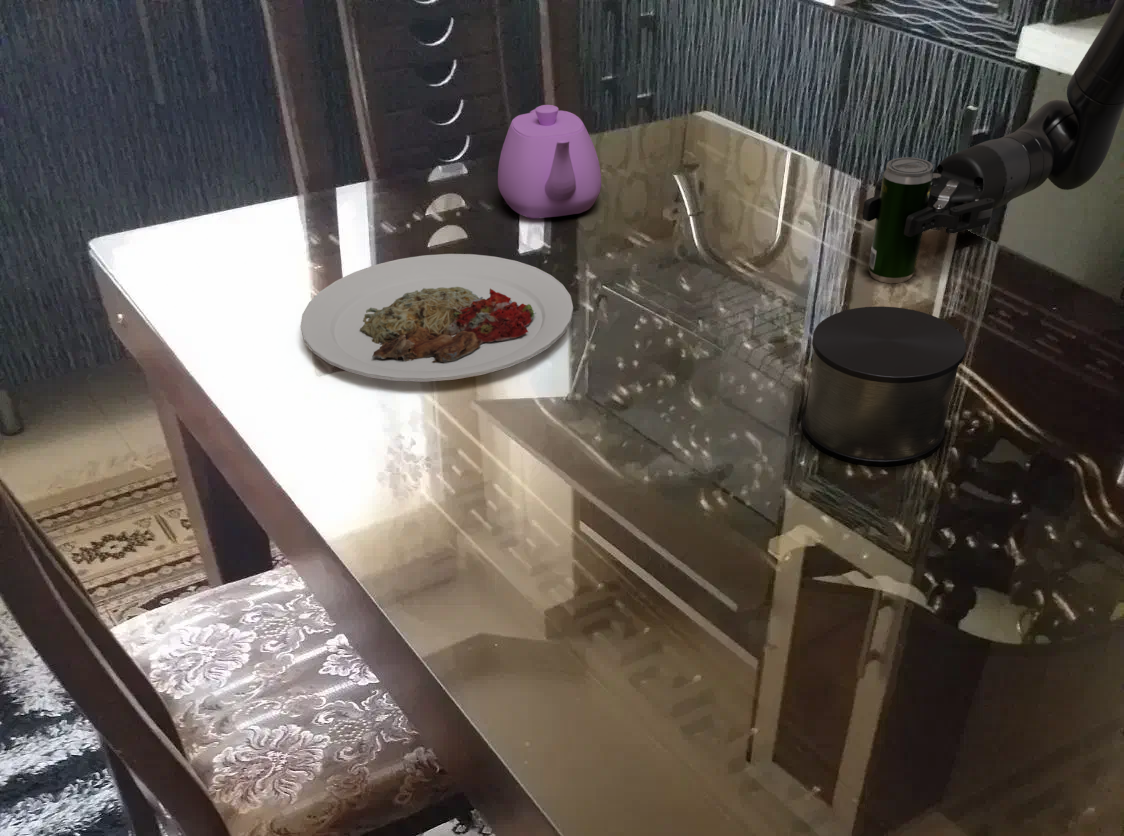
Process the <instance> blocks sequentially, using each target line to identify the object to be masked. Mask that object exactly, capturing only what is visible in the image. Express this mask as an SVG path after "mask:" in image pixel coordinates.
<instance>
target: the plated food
mask: <svg viewBox="0 0 1124 836" xmlns="http://www.w3.org/2000/svg"><path fill="white" fill-rule="evenodd" d="M573 314H574V306H573V301H572V296H571V294H570V293H569V291H568V290H567V288H566V287H565V286H564V284H563V283H562V282H560V281H559V280H558V279H557V278H555V277H554V276H553V275H551V274H550V273H547V272H546V271H544V270H542V269H540V268H538V267H535V266H533V265H530V264H527V263H524V262H520V261H517V260H514V259H510V258H509V259H508V258H504V257H500V256H499V257H498V256H493V255H483V254H473V253H465V254H464V253H442V254H426V255H424V254H423V255H418V256H417V255H416V256H411V257H404V258H398V259H394V260H390V261H385V262H382V263H377V264H374V265H371V266H367V267H365V268H362V269H359V270H356V271H354V272H352V273H350V274H347V275H345V276H343V277H341V278H339V279H337V280H335V281H333V282H332V283H330V284H329V285H327V286H326V287H325V288H323V289H321V290H320V291H319V292H318V293H317V294H316V295H315V296H314V297H313V298H312V299H310V300H309V302H308V303H307V306H306V307H305V308H304V310H303V312H302V315H301V320H300V330H301V334H302V337H303V341H304V343H305V344H306V345H307V347H308V349H310V351H311V352H312V353H313V354H314V355H315V356H317V357H319V358H320V359H321V360H323V361H324V362H325V363H327V364H329V365H331V366H335V367H336V368H339V369H341V370H343V371H346V372H348V373H352V374H357V375H359V376H364V377H367V378H373V379H379V380H380V379H381V380H386V381H397V382H422V383H423V382H438V381H440V382H441V381H451V380H453V381H455V380H458V379H460V380H461V379H464V378H466V379H467V378H471V377H476V376H482V375H487V374H491V373H494V372H497V371H501V370H504V369H508V368H511V367H513V366H515V365H518V364H520V363H522V362H524V361H528V360H530V359H532V358H534V357H535V356H537V355H539V354H541V353H542V352H544V351H545V350H547V349H549V348H550V347H552V346H553V345H554V344H555V343H556V342H557V341H559V339H561V337H562V336H564V334H565V332H566V331H567V329H568V328H569V326H570V325H571V322H572V319H573Z"/></svg>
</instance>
